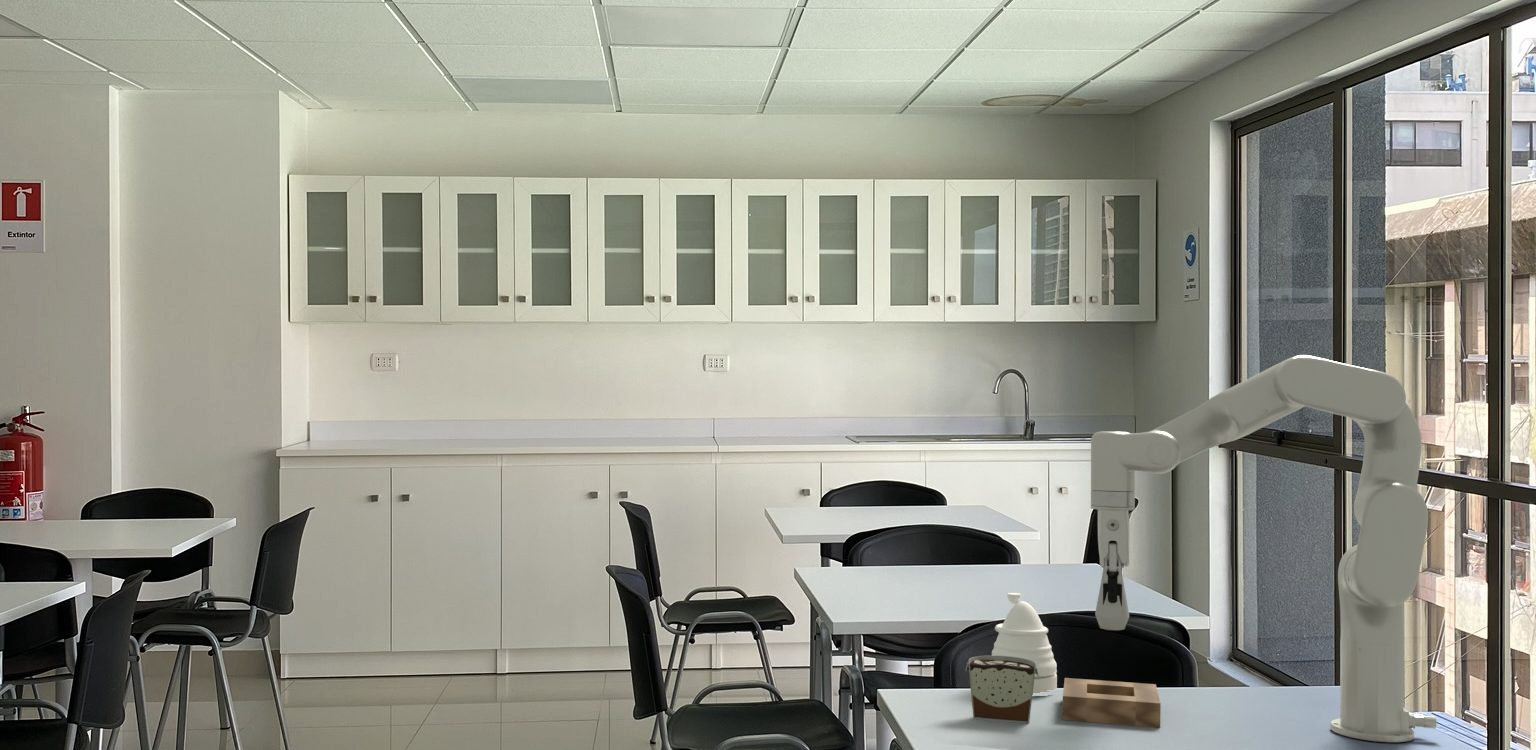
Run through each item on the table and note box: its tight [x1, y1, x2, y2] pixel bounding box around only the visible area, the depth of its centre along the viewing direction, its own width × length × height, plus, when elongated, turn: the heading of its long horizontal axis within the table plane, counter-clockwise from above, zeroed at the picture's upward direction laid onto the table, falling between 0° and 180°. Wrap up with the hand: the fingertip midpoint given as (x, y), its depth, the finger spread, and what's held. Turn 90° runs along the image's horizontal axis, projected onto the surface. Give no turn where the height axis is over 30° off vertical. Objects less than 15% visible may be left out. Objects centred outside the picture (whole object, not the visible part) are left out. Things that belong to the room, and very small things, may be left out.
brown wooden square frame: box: [1062, 677, 1162, 728], centre depth 215 cm, size 16×16×4 cm
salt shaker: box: [1094, 557, 1130, 631], centre depth 216 cm, size 6×6×13 cm
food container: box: [965, 655, 1039, 724], centre depth 211 cm, size 12×6×10 cm, turn 74°
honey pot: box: [991, 592, 1058, 693], centre depth 233 cm, size 13×13×18 cm
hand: (1112, 604), depth 216 cm, fingers closed on salt shaker, 3 cm apart
